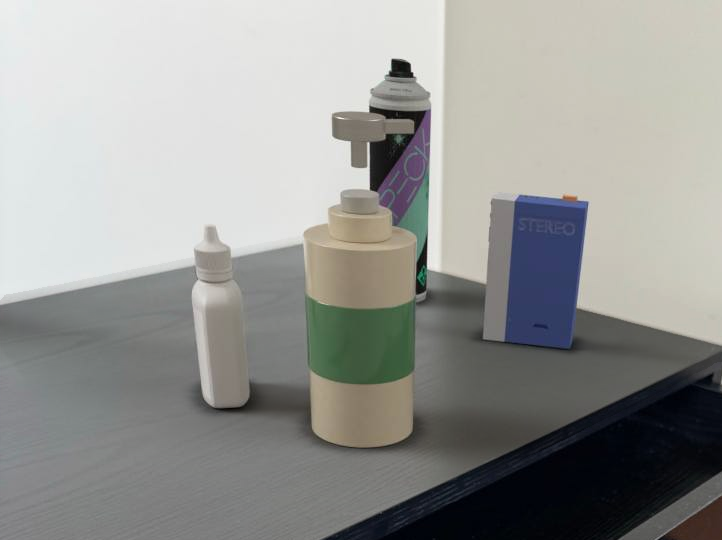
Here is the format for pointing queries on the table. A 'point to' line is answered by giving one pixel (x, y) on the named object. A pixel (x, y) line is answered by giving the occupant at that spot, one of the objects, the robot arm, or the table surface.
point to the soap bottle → (360, 323)
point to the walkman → (534, 269)
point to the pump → (366, 131)
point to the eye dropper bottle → (219, 325)
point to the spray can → (404, 159)
